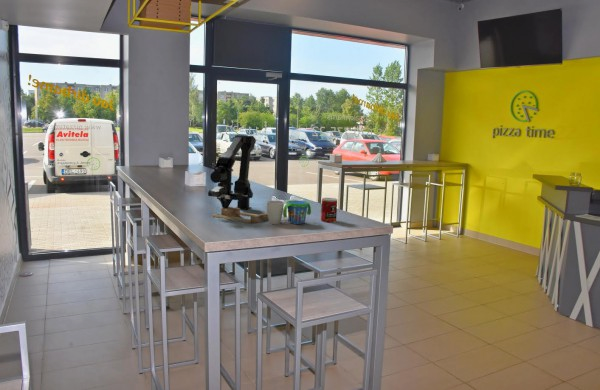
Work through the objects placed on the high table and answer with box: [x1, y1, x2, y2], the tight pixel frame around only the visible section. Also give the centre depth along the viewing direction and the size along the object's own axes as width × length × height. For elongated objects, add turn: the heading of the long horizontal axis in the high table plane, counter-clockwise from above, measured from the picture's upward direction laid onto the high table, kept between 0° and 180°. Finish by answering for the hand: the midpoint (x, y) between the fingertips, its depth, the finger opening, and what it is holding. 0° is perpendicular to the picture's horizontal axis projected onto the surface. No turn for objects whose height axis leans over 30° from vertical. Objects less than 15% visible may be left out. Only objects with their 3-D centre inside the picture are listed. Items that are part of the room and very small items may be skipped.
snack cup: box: [282, 199, 312, 225], centre depth 231 cm, size 16×10×10 cm
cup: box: [266, 200, 285, 225], centre depth 230 cm, size 8×8×10 cm
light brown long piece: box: [211, 211, 269, 224], centre depth 239 cm, size 14×25×3 cm, turn 58°
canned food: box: [320, 197, 338, 223], centre depth 239 cm, size 8×8×11 cm
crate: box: [220, 206, 241, 218], centre depth 242 cm, size 7×6×4 cm
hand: (225, 211), depth 245 cm, fingers closed
